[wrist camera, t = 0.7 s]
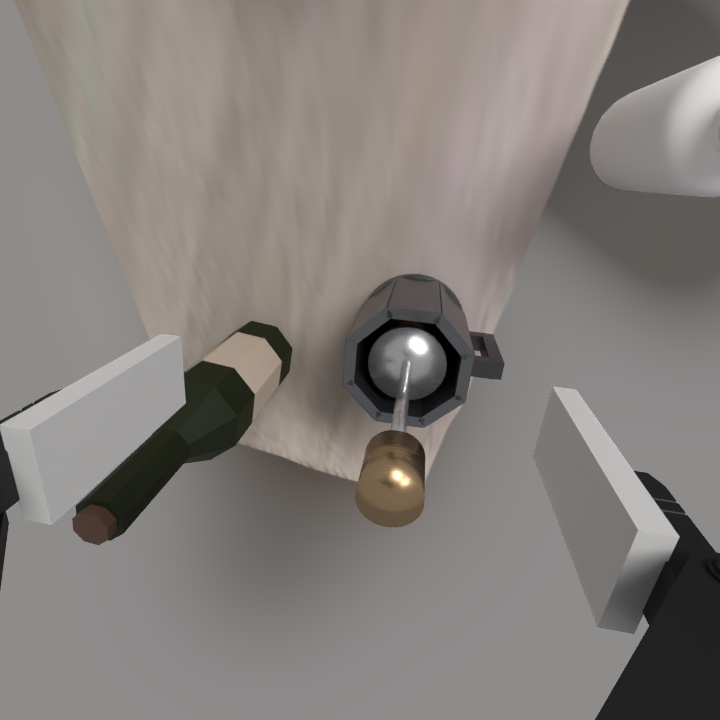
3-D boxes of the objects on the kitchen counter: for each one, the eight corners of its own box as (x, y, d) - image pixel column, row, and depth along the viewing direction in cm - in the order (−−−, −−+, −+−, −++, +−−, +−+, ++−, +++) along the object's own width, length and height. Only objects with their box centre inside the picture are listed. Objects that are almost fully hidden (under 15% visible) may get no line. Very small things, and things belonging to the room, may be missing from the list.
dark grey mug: (366, 268, 49) (345, 297, 37) (499, 283, 47) (522, 318, 35) (358, 364, 53) (337, 418, 42) (479, 380, 52) (493, 441, 40)
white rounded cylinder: (614, 209, 43) (727, 230, 27) (568, 137, 41) (658, 111, 25) (702, 148, 40) (890, 128, 24) (656, 67, 39) (824, -14, 22)
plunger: (372, 320, 39) (327, 433, 22) (452, 330, 39) (469, 454, 21) (366, 390, 42) (320, 539, 25) (440, 400, 41) (446, 561, 24)
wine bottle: (247, 307, 53) (48, 448, 25) (305, 346, 54) (174, 524, 26) (217, 359, 56) (13, 534, 29) (273, 395, 57) (126, 599, 29)
